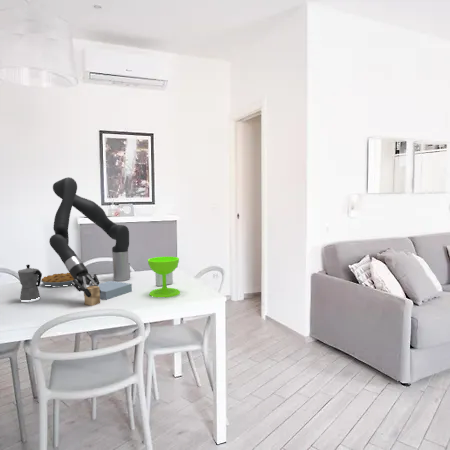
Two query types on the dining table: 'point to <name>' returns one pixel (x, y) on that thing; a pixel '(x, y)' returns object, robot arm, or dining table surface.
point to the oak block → (92, 296)
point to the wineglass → (164, 274)
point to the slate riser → (113, 289)
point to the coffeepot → (29, 283)
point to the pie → (58, 279)
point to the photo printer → (168, 279)
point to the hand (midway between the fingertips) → (94, 294)
